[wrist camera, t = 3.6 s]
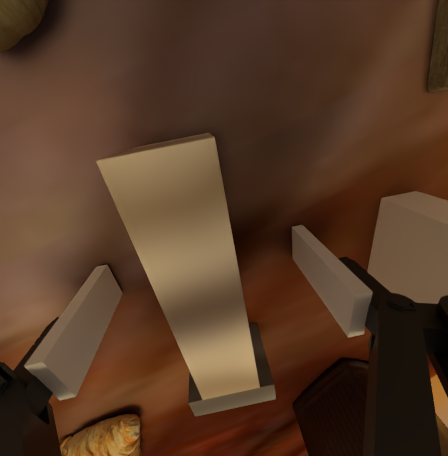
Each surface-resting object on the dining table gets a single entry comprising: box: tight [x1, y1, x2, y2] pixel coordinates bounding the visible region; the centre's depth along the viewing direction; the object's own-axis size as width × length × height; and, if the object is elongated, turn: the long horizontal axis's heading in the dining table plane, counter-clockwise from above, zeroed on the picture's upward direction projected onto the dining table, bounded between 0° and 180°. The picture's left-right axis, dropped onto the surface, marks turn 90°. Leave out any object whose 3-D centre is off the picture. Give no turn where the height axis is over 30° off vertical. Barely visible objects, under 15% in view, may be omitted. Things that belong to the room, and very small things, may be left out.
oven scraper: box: [96, 133, 276, 416], centre depth 13 cm, size 18×6×5 cm, turn 10°
